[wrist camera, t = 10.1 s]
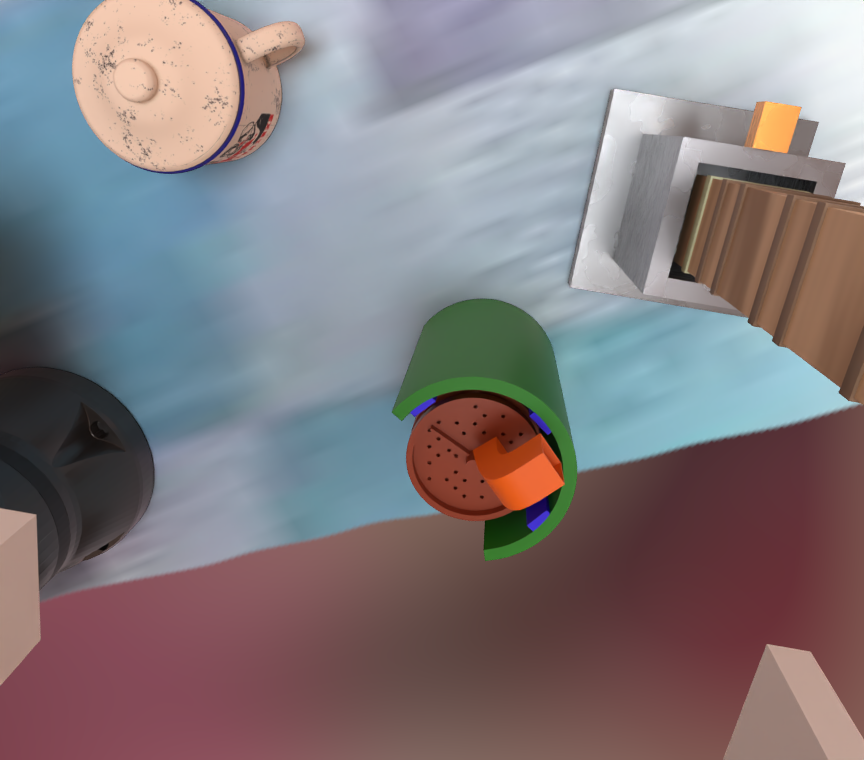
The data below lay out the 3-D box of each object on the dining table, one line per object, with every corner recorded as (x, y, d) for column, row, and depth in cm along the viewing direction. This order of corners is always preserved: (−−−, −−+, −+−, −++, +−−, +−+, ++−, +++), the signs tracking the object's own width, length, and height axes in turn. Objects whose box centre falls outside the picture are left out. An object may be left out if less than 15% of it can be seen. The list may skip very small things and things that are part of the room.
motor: (391, 355, 51) (331, 490, 32) (485, 267, 49) (479, 357, 30) (490, 453, 53) (489, 634, 34) (586, 373, 50) (641, 522, 32)
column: (670, 262, 38) (899, 439, 17) (695, 172, 37) (980, 239, 15) (758, 277, 38) (1101, 474, 17) (787, 187, 37) (1204, 277, 15)
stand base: (568, 282, 48) (591, 332, 37) (611, 89, 44) (652, 77, 33) (748, 313, 48) (828, 372, 37) (808, 122, 44) (919, 121, 33)
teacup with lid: (187, 186, 48) (98, 205, 37) (120, 47, 46) (3, 23, 35) (352, 114, 46) (308, 111, 35) (290, -37, 44) (222, -91, 33)
